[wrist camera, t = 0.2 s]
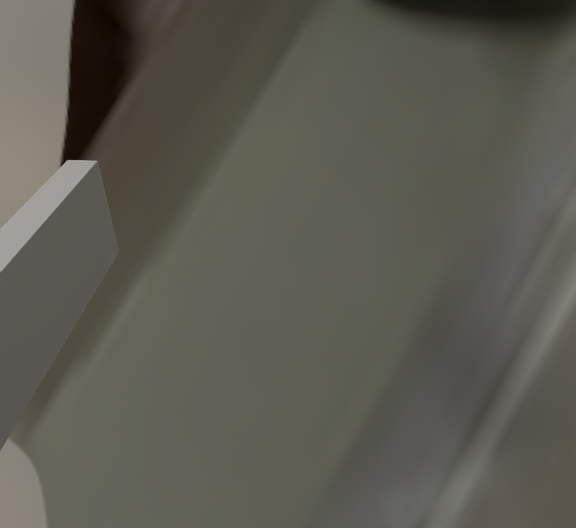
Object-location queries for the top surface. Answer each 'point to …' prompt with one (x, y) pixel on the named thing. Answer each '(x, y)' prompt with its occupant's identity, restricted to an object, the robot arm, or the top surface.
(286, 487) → the top surface
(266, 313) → the top surface
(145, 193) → the top surface
